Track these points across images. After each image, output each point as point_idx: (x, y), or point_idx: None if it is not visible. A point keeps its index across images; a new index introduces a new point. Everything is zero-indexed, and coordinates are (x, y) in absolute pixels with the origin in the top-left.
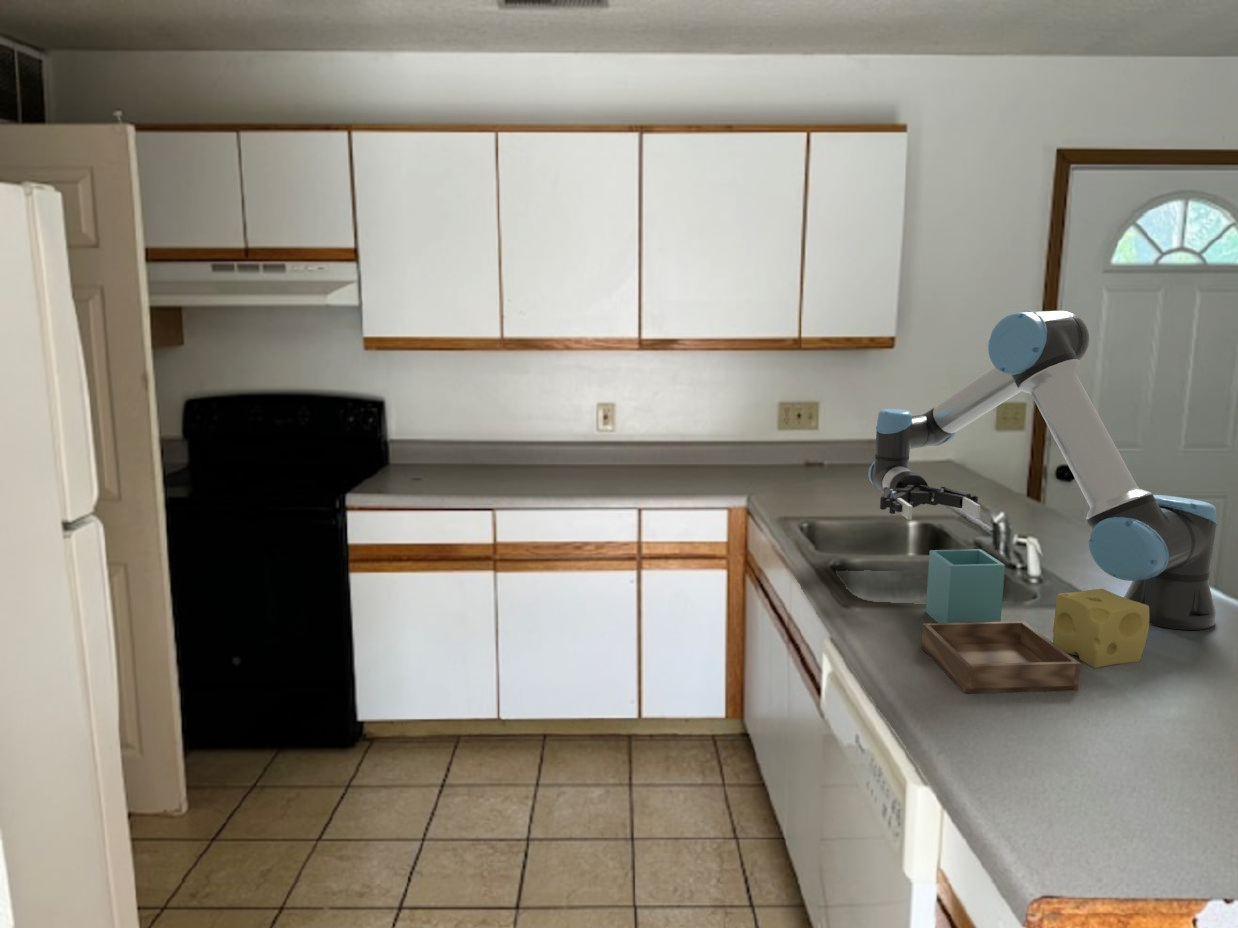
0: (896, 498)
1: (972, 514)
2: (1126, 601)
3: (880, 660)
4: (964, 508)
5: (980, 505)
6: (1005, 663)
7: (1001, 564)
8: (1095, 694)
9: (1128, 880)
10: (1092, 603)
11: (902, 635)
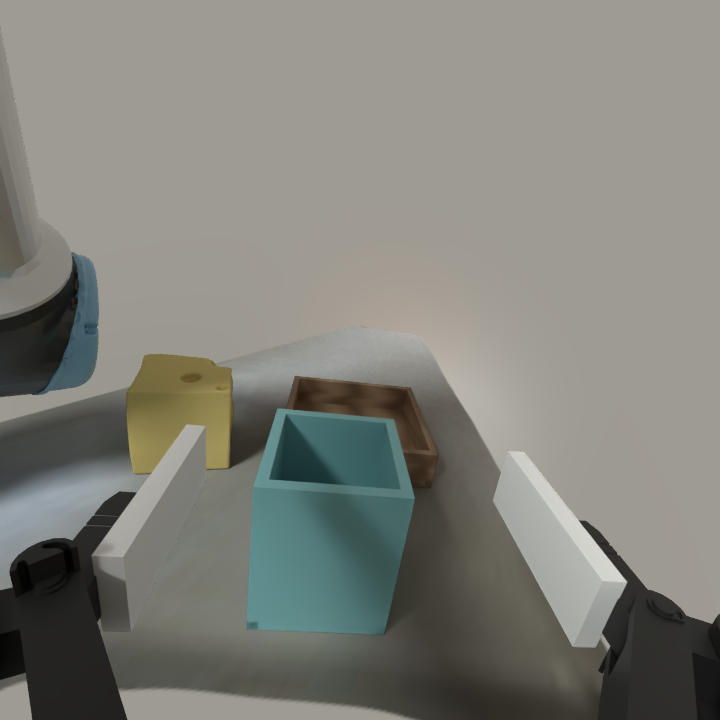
0: (635, 599)
1: (194, 496)
2: (158, 363)
3: (488, 468)
4: (149, 577)
5: (187, 424)
6: (370, 385)
7: (282, 411)
8: (281, 397)
9: (384, 332)
10: (214, 369)
11: (454, 526)
